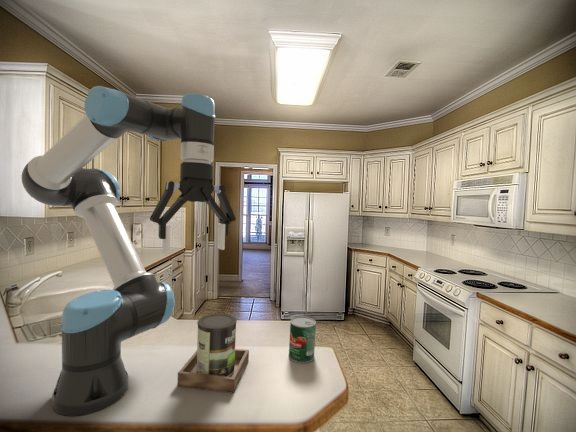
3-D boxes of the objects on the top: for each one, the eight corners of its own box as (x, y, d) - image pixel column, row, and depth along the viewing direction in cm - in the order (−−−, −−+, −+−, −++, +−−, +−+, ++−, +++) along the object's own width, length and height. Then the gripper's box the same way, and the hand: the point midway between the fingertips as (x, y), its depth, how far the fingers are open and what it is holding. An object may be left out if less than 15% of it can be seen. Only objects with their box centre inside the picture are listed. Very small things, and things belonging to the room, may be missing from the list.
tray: (177, 386, 76) (177, 372, 75) (201, 356, 90) (201, 345, 90) (233, 393, 74) (234, 379, 74) (248, 361, 88) (248, 350, 88)
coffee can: (240, 363, 86) (242, 315, 85) (225, 385, 76) (227, 330, 75) (207, 358, 88) (208, 311, 87) (188, 378, 78) (190, 325, 77)
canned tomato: (285, 359, 90) (286, 324, 90) (293, 347, 98) (294, 314, 97) (310, 365, 88) (312, 328, 87) (316, 352, 95) (318, 318, 95)
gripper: (144, 155, 61) (143, 258, 62) (250, 167, 77) (247, 249, 78) (136, 157, 67) (135, 252, 68) (236, 168, 82) (233, 245, 84)
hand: (195, 251), depth 73 cm, fingers open, 13 cm apart
